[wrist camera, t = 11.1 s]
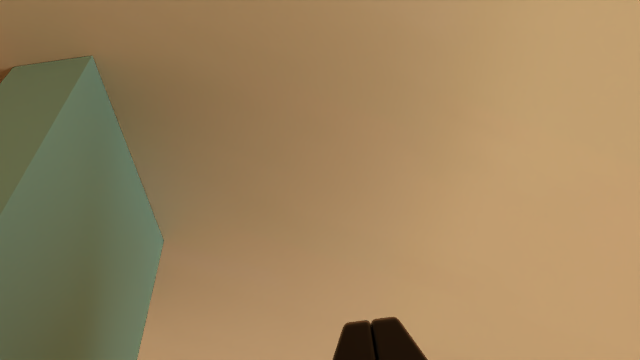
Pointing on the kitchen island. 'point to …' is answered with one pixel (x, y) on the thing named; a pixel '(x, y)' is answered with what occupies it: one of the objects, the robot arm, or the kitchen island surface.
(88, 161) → the domino
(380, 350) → the robot arm
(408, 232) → the kitchen island surface
